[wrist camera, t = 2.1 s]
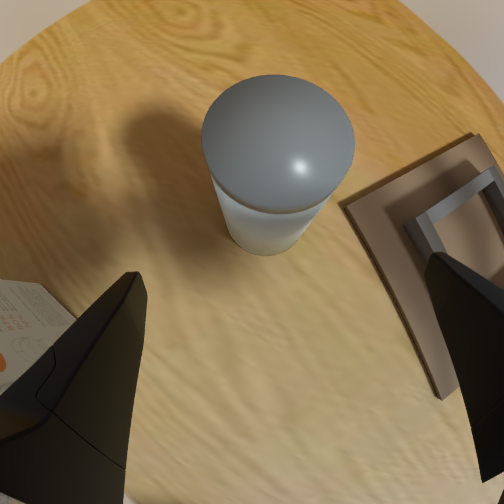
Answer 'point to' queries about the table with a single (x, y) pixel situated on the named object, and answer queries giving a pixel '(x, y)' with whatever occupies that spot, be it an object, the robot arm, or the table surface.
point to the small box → (27, 327)
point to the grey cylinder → (275, 158)
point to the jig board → (435, 237)
